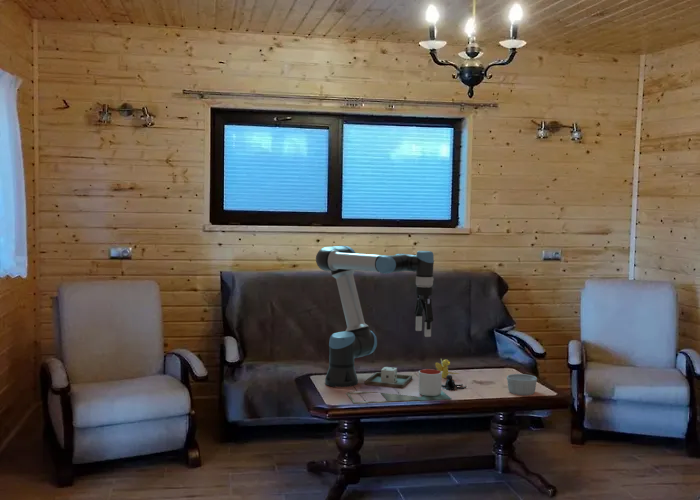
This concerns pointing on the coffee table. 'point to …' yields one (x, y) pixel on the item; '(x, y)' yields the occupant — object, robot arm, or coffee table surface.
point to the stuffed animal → (451, 384)
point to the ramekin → (521, 384)
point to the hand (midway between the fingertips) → (423, 333)
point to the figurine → (444, 368)
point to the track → (401, 397)
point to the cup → (430, 382)
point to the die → (389, 375)
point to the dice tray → (400, 383)
